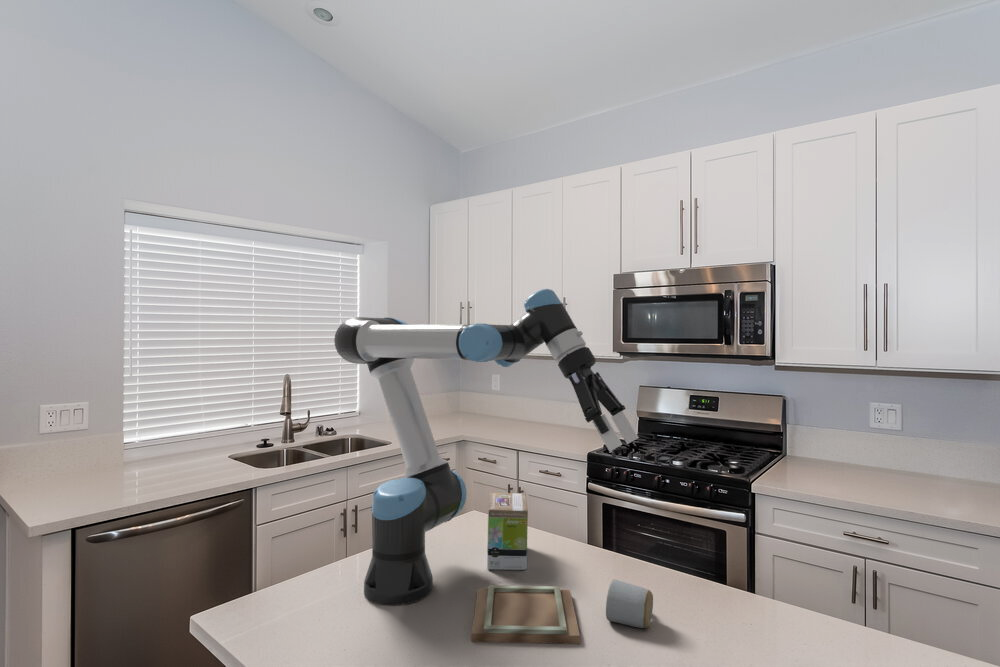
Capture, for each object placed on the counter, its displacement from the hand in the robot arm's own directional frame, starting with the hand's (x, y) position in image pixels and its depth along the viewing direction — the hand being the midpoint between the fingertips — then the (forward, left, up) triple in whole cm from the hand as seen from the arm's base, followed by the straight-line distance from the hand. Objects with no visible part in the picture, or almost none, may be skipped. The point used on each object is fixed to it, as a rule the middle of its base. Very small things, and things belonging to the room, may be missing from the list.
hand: (625, 444), depth 108 cm
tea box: (-24, +29, -35) cm, 52 cm away
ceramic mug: (+1, 0, -35) cm, 35 cm away
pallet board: (-20, 0, -35) cm, 40 cm away
